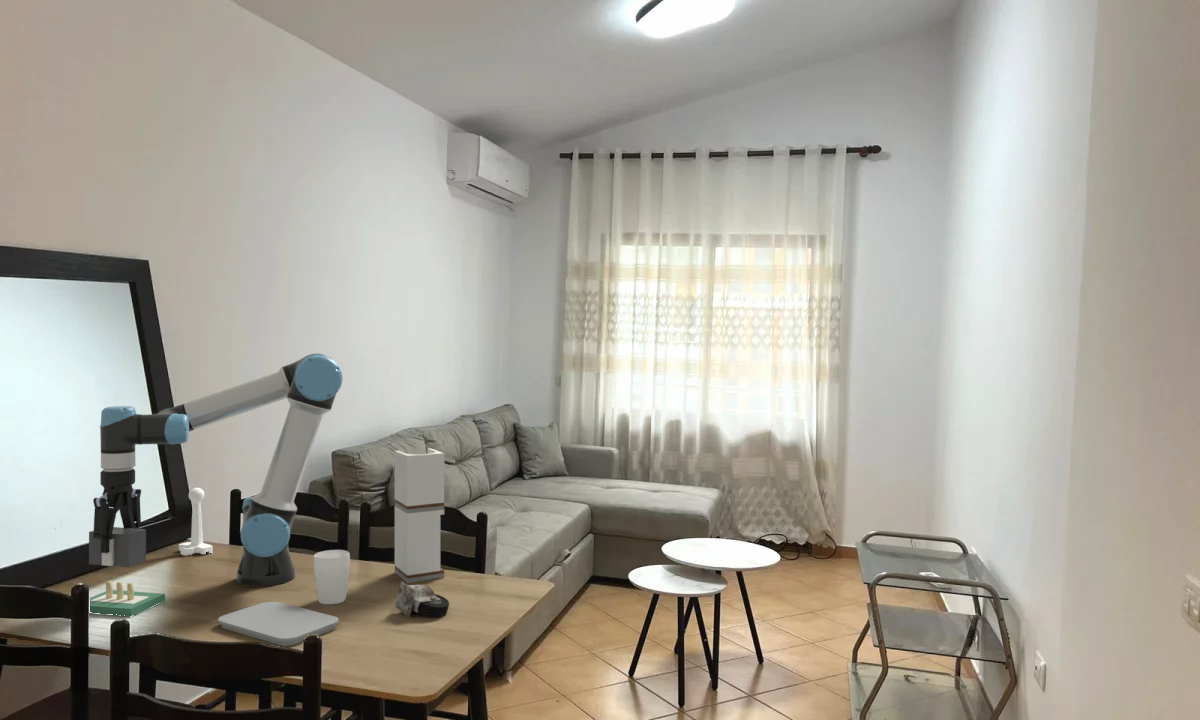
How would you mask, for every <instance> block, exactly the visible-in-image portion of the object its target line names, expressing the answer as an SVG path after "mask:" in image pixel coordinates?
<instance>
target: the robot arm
mask: <svg viewBox="0 0 1200 720" xmlns="http://www.w3.org/2000/svg"><path fill="white" fill-rule="evenodd" d="M343 378H344V377H343V372H342V368H341V366H340V365H339V363H337V361H336V360H335V359H334V358H332V357H331V356H328V355H325V354H322V353H311V354H308V355H306V356H304V357H302V358H300V359H299V360H296V361H294V362H292V363H289V364H287V365H284V366H281V367H280V368H279V371H277V372H275V373H271V374H268V375H266V376H262V377H259V378H257V379H253V380H251V381H248V382H244V383H242V384H238V385H236V386H232V387H230V388H229V387H228V388H227V389H224V390H220V391H217V392H215V393H212V394H209V395H206V396H203V397H199V398H197V399H193V400H191V401H187V402H184V403H182V404H178V405H176V406H172V407H167V408H164V409H161V410H160V411H158V412H157V413H155V414H154V413H153V414H152V413H151V414H141V413H140V414H139V413H137V412H136V408H135V407H134V406H130V405H129V406H127V405H119V406H118V405H116V406H114V405H113V406H107V407H104V408H103V409H102V410H101V414H100V415H101V417H100V425H99V428H100V468H101V469H102V470H101V471H100V473H99V474H100V486H102V487H103V492H102V495H101V496H99V497H94V498H93V501H92V502H93V505H94V516H93V531H94V532H93V537H94V538H97V539H100V540H101V553H102V565H101V566H105V567H106V566H107V567H114V566H113V565H114V539H111V536H112V531H113V527H115V526H114V525H115V522H116V516H117V513H118V512H119V514H120V517H121V518H120V519H121V522H122V528H135V529H141V526H142V517H141V495H142V489H140V488H133V485H134V484H135V483H136V470H135V469H134V468H135V466H136V463H137V462H136V445H139V446H140V445H141V446H142V445H176V444H186V443H187V442H188V441H189V436H190V432H192V431H194V430H197V429H200V428H204V427H207V426H209V425H212V424H215V423H217V422H221V421H224V420H227V419H229V418H233V417H236V416H239V415H241V414H243V413H248V412H249V411H253V410H257V409H259V408H262V407H265V406H268V405H271V404H274V403H277V402H279V401H284V400H285V399H287V402H288V404H289V409H288V410H287V414H286V417H285V421H284V423H283V426H282V429H281V431H280V435H279V438H278V441H277V444H276V446H275V449H274V452H273V455H272V458H271V460H270V461H271V462H270V464H269V467H268V471H267V473H266V476H265V479H264V481H263V485H262V488H261V491H260V492H259V493H258V494H256V495H254V496H250V497H246V498H245V499H243V502H242V507H241V508H242V525H241V526H242V527H241V529H240V533H239V534H240V541H241V543H242V545H243V546H242V549H243V553H242V557H241V559H240V562H239V566H238V569H237V571H236V583H237V584H239V585H242V586H246V587H247V586H248V587H267V586H276V585H279V584H283V583H287V582H289V581H291V580H293V579H295V577H296V567H295V565H294V561H293V558H292V556H291V553H290V550H289V541H290V539H291V529H292V526H293V524H294V520H295V517H296V513H297V511H298V507H297V505H296V504H295V498H296V496H297V493H298V490H299V486H300V483H301V481H302V478H303V475H304V472H305V468H306V465H307V463H308V460H309V458H310V457H309V456H310V454H311V450H312V448H313V445H314V443H315V439H316V436H317V434H318V431H319V428H320V425H321V421H322V418H323V416H324V415H325V414H327V413H329V412H331V410H332V407H333V404H334V401H335V399H336V396H337V393H338V392H339V391H340V389H341V387H342V383H343Z"/></svg>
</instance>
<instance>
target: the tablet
mask: <svg viewBox="0 0 1200 720" xmlns="http://www.w3.org/2000/svg"><path fill="white" fill-rule="evenodd" d="M339 621H340V620H339V617H337V616H334V615H330V614H328V613H327V614H326V613H323V612H318V611H315V610H312V609H307V608H302V607H300V606H297V605H296V606H295V605H292V604H288V603H283V602H279V601H266V602H265V601H264V602H260V603H258V604H255V605H252V606H249V607H245V608H242V609H239V610H236V611H233V612H229V613H226V614H224V615H220V616H219V617H218V619H217V622H218V624H220V625H221V628H222V629H224V630H226V631H231V632H235V633H238V634H242V635H245V636H247V637H251V638H255V639H258V640H261V641H264V642H267V643H268V642H269V643H272V644H275V645H278V646H285V647H286V646H288V647H289V646H294V645H298V644H300V643H302V642H304V641H303V640H304V638H305V637H306V636H307V635H312V634H318V635H319V636H321V635H323V634H324V635H325V634H326V633H328V632H331V631H333V630H335V629H336V625H338V624H339Z"/></svg>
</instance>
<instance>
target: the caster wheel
mask: <svg viewBox="0 0 1200 720" xmlns="http://www.w3.org/2000/svg"><path fill="white" fill-rule="evenodd" d="M394 607H395V608H396V609H397V610H398V611H400V612H401V613H402V614H403V615H405V617H407V618H410V616H411V613H412V612H416V613H419V614H422V615H425V616H428V617H433V618H434V617H435V618H438V617H439V618H440V617H444V616H446V615H447V614H448V610H449V608H450V601H449V600H448V599H447V598H446V597H444V596H442V595H440V594H437V593H435V592H434V589H432V587H430V586H428V585H427V584H414V585H413V584H411V585H409V584H408V585H407V584H406V583H405V582H404V581H402V580H401V582H400V585H399V589H398V593H397V596H396V601H395V604H394Z"/></svg>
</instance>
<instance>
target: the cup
mask: <svg viewBox="0 0 1200 720" xmlns="http://www.w3.org/2000/svg"><path fill="white" fill-rule="evenodd" d="M350 555H351V553H350V552H349V551H348V550H345V549H329V550H323V551H318V552H316V553H315V554H314V555H313V564H312V565H313V567H312V568H313V575H314V581H315V587H316V593H317V600H318V602H319V604H322V605H337V604H338V605H339V604H341V603H343V602H345V601H346V600H347V599H346V598H347V593H348V586H349V579H350V571H351V557H350Z"/></svg>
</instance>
